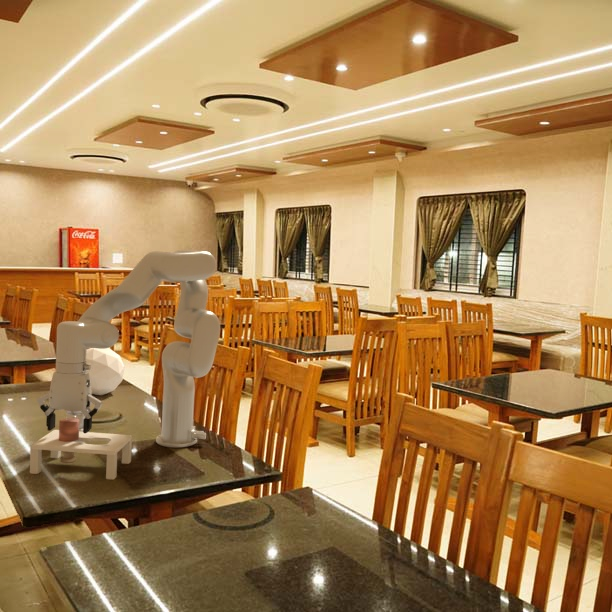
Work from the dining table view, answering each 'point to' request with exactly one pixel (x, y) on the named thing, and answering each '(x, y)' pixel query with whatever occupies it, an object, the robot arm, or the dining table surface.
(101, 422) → the dining table surface
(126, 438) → the keyhole plate
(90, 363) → the ball
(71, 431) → the peg
